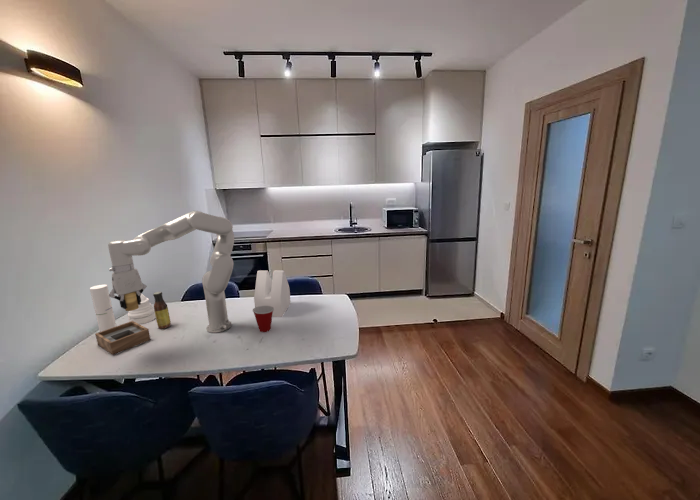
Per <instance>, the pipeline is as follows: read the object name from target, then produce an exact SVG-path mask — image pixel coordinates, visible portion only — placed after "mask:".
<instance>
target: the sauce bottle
mask: <svg viewBox="0 0 700 500" xmlns="http://www.w3.org/2000/svg"><path fill="white" fill-rule="evenodd" d="M152 296H153V297H154V304H153V308H154V311H155V316H156V318H155V320H156V323H157V324H156V325H157V327H158V329H161V330H162V329H163V330H164V329H167V328H170V327H171V326H172V322H171V317H170V313H169V308H168V305H167V303H166V301H165V300H164V297H163V292H162V291H156V292H153V294H152Z"/></svg>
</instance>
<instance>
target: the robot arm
mask: <svg viewBox="0 0 700 500" xmlns="http://www.w3.org/2000/svg"><path fill="white" fill-rule="evenodd" d="M197 230H198V231H201V232H205V233H210V234H216V242H215V244H214V248H213V251H212V254H211V256H210V259H209V262H210V266H211V267H212V268H211V270H208V271H206V272H205V273H204V274H203V276H202V280H201V283H202V287H203V293H204V299H205V304H206V312H207V319H208V325H207V326H206V332H208V333H211V334H213V333H216V334H217V333H222V332H225V331H227V330H229V329H230V328H231V327H232V325H233V323H232V321H230V320H229V316H228V308H227V302H226V293H225V290H226V288H227V287H228V284H229V281H230V279H231V276H232V273H233V269H234V260H233V258H232V252H233V247H234V244H235V234H234V230H233V223H232V222H231V220H229V219H228V218H226V217H224V216H216V215H213V214H209V213H205V212H202V211H199V210H193V211H190V212H187V213H184V214H182V215H180V216H178V217H177V218H174V219H172V220H170V221H168V222H165V223H164V224H160V225H159V226H157V227H155V228H152V229H150V230H147V231H146V232H143V233H141V234H139V235H137V236H135V237H133V239H132V240H127V239H117V240H112V241H110V242H108V243H107V248H108V251H109V256H110V262H111V267H110V268H108V271H109V272H112V273H111V283H112V285H111V286H112V289H111V291H110V292H109V297H110V299H111V298H112V299H116V300H117V301H118V302H119V305H120V307H121V309H124V310H125V309H126V308H127V307H126V302H125V300H124V295H125V294H128V293H132V292H135V291H136V296H137V301H138V304H139V305H140V304H141V303H140V302H141V298H140V296H141V294H143V292H144V291H145V289H146V288H147V285H146V284H144V283H143V281H142V279H141V275H140V273H139V270H138V269H137V268H135V264H134V259H133V256H134V257H135V256H145V255H147V254H149V253H150V252H151V249H152V248H153V247H155V246H157V245H159V244H162V243H165V242H168V241H175V240H177V239H180V238H181V237H183V236H185V235H187V234H189V233H191V232H194V231H197Z"/></svg>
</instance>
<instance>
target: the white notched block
mask: <svg viewBox="0 0 700 500" xmlns="http://www.w3.org/2000/svg"><path fill="white" fill-rule="evenodd" d="M254 287H255V289H254V296H253V303H254V308H255V307H258V306H272V307H274V310H273V313H272V318H283V317H284V315H285V313H286V312H287V310H288V309H289V307H290V306H291V304H292V303H291V302H292V301H291V292H290V291H291V290H290V285H289V282H288V279H287V275H286V273H285V270H279V269H277V270H272V276H271V275H270V272H269V270H257V273H256V280H255V286H254ZM289 305H290V306H289ZM287 308H288V309H287ZM285 311H286V312H285ZM283 314H284V315H283Z"/></svg>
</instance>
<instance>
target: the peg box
mask: <svg viewBox="0 0 700 500" xmlns="http://www.w3.org/2000/svg"><path fill="white" fill-rule="evenodd" d="M150 335H151V334H150V330H149V328H147V327H146V326H144V325H142V324H138V323H136V322H134V321H131V322H129V321H128V322H125V323H122V324H119V325H116V327H113V328H110V329H107V330H104V331H102V332H100V331H99V332H96V333H95V337H96V343H97V345H98V346H99V347H101V349H103V350H104V351H106V352H108V353H109V354H110V355H112V356H115V355H118V354H119V353H122V352H124V351H126V350H129V349H132V348H134V347H136V346H138V345H141V344H143V343H146V342H149V341H150V340H151V336H150Z"/></svg>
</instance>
